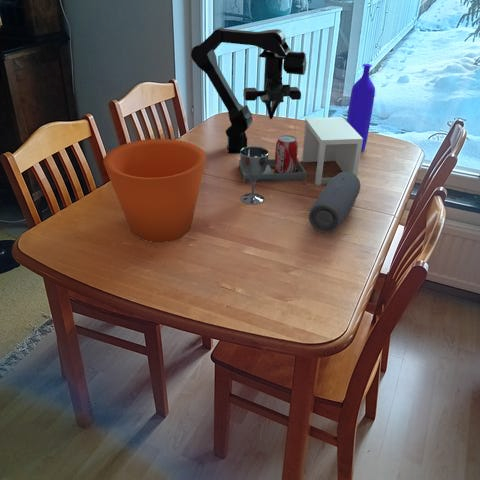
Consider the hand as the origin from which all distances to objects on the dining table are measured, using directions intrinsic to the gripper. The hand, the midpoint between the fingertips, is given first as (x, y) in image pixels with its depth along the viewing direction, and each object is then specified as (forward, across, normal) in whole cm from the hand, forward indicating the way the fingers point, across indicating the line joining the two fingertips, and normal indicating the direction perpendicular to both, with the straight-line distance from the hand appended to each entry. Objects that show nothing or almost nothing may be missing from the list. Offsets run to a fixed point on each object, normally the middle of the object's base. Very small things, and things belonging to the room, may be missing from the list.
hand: (270, 118), depth 164 cm
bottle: (+13, +33, +3) cm, 36 cm away
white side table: (+13, +17, -16) cm, 27 cm away
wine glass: (+13, -11, -33) cm, 37 cm away
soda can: (+13, +2, -16) cm, 21 cm away
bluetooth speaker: (+13, +10, -46) cm, 49 cm away
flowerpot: (+13, -38, -46) cm, 61 cm away
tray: (+13, -2, -16) cm, 21 cm away
